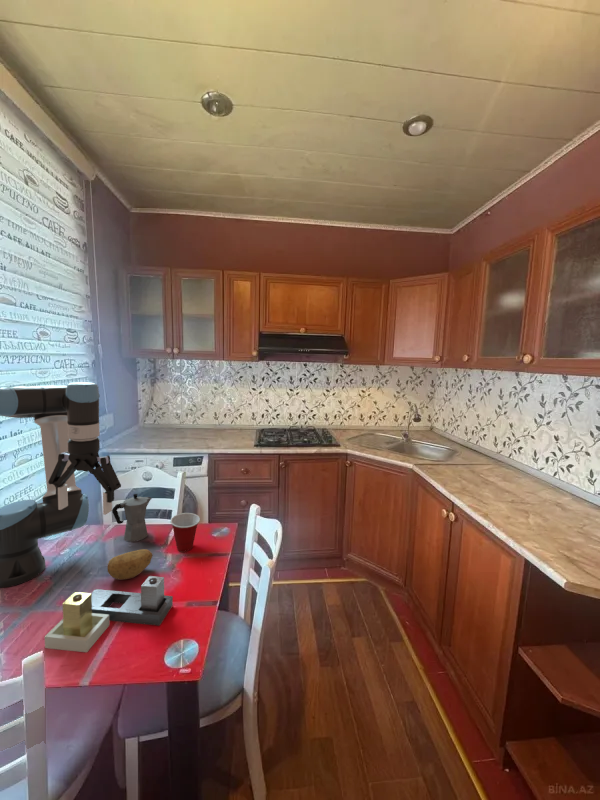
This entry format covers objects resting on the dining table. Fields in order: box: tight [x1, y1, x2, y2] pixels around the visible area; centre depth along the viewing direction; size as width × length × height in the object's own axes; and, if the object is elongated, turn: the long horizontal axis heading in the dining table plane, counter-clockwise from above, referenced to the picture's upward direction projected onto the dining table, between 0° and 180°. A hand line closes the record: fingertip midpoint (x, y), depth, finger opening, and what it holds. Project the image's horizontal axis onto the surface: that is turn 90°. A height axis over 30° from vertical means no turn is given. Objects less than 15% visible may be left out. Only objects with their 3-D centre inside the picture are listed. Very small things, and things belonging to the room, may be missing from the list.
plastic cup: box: [170, 512, 201, 553], centre depth 134 cm, size 11×11×12 cm
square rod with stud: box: [140, 575, 165, 612], centre depth 99 cm, size 4×4×10 cm
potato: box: [106, 548, 153, 581], centre depth 116 cm, size 10×14×8 cm
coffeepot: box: [111, 493, 153, 542], centre depth 140 cm, size 15×9×18 cm, turn 138°
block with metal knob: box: [62, 591, 92, 637], centre depth 90 cm, size 4×4×10 cm
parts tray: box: [44, 613, 110, 653], centre depth 90 cm, size 11×9×3 cm
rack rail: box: [91, 588, 174, 627], centre depth 100 cm, size 24×8×3 cm, turn 86°
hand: (85, 510), depth 99 cm, fingers open, 13 cm apart
